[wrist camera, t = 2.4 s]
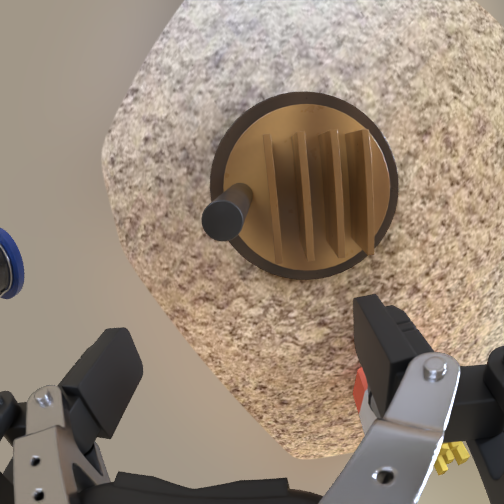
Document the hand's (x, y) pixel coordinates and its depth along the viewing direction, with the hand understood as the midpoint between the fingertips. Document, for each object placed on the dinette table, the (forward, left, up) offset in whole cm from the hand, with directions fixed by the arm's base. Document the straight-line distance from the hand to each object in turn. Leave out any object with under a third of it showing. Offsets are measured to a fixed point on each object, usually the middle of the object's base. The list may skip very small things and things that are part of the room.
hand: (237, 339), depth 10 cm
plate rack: (+4, +4, -21) cm, 21 cm away
